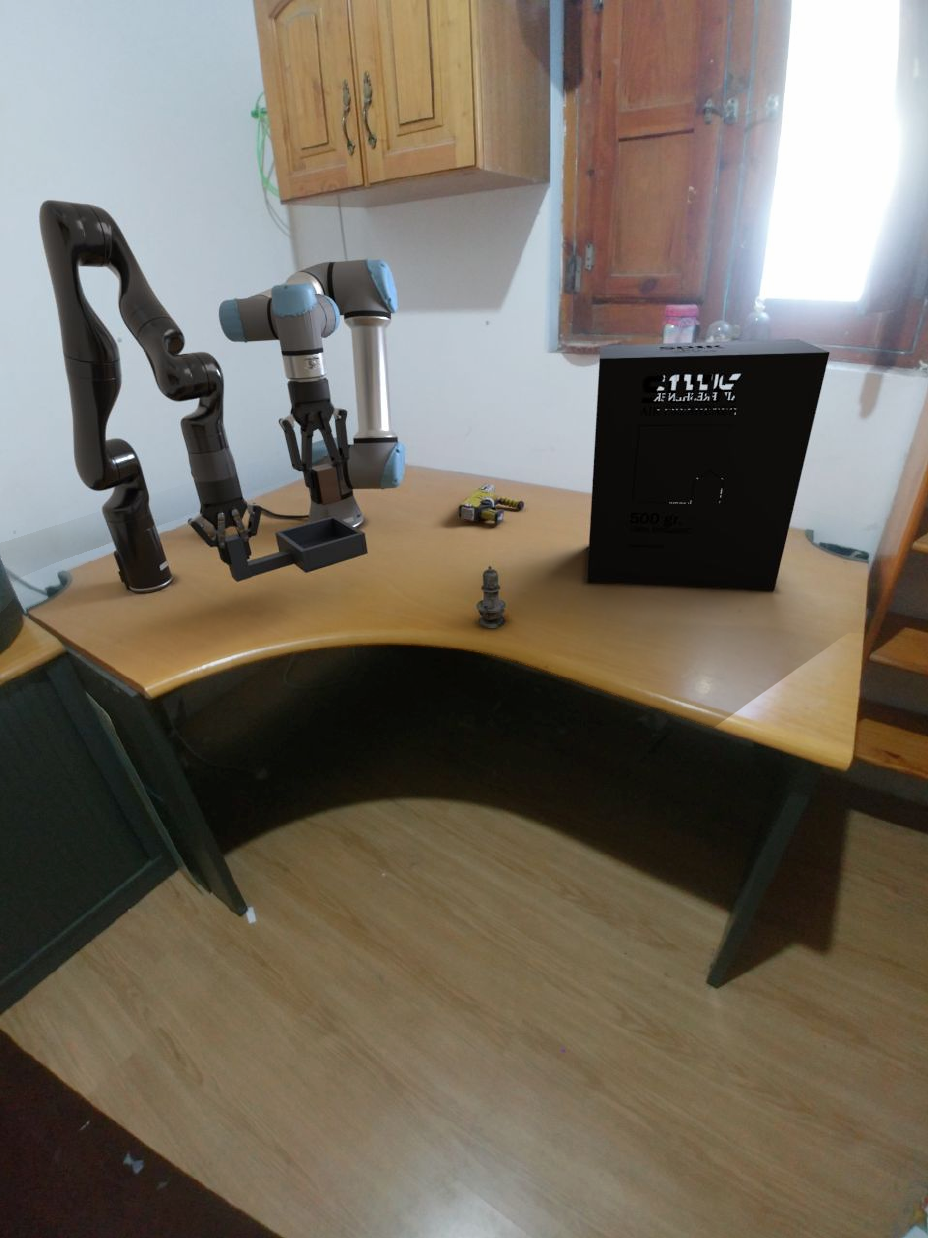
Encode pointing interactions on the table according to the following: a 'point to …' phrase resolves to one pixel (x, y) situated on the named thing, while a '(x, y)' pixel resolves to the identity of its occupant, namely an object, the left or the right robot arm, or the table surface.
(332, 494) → the walnut block
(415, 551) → the table surface
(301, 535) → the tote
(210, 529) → the eyeball
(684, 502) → the cardboard box
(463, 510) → the toy gun
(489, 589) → the grey tall tiered piece
